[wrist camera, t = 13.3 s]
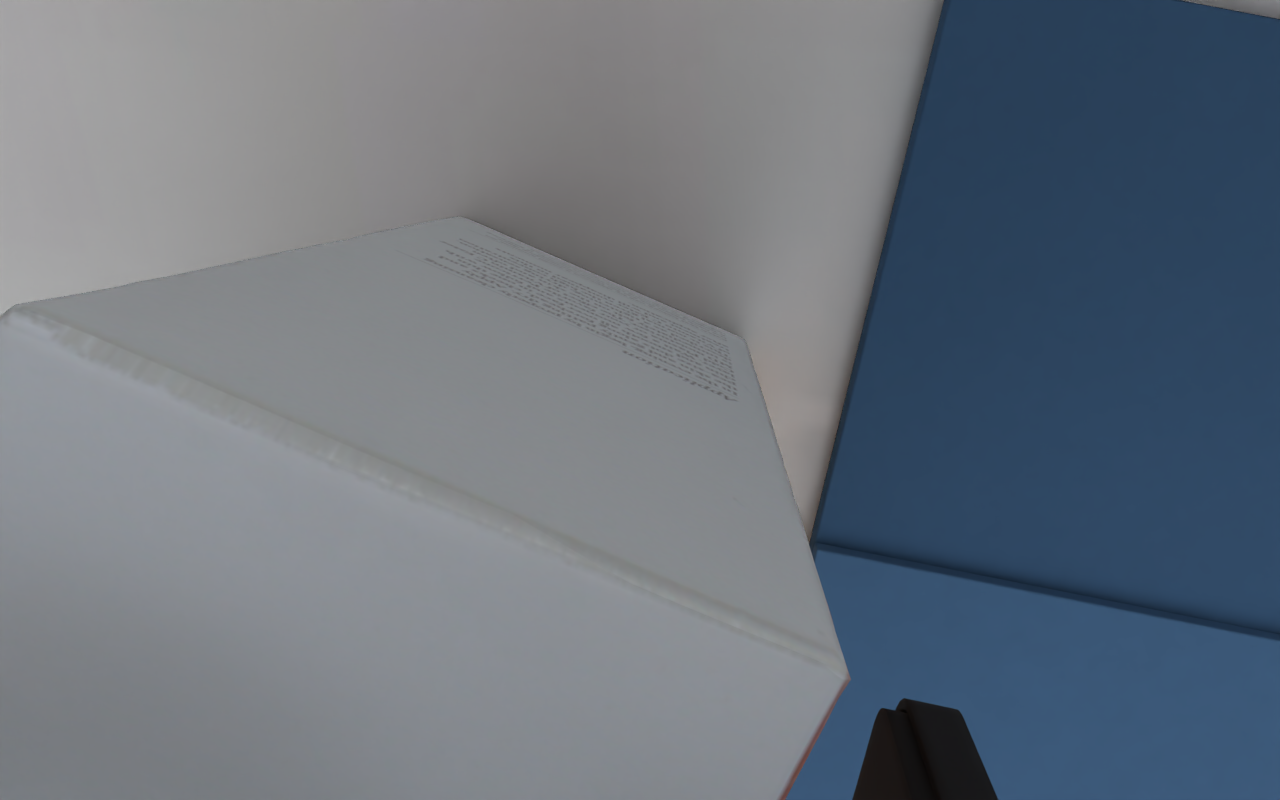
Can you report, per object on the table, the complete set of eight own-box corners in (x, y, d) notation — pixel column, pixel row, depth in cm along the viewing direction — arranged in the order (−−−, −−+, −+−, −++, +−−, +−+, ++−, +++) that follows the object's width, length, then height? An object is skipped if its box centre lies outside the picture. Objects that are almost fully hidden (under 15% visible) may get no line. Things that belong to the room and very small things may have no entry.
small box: (601, 672, 21) (451, 1452, 8) (328, 558, 21) (-260, 1184, 8) (758, 333, 19) (876, 674, 6) (458, 204, 19) (-50, 287, 6)
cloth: (1624, 91, 17) (1674, 87, 16) (1241, 999, 22) (1263, 1033, 21) (952, -37, 17) (966, -48, 16) (722, 893, 22) (722, 924, 21)
